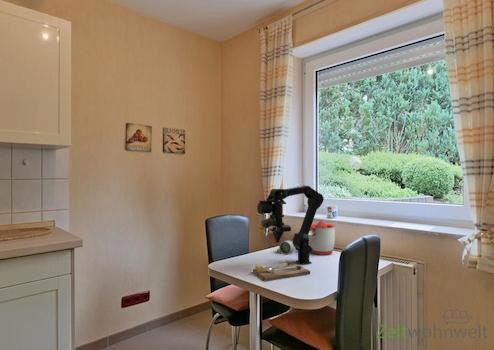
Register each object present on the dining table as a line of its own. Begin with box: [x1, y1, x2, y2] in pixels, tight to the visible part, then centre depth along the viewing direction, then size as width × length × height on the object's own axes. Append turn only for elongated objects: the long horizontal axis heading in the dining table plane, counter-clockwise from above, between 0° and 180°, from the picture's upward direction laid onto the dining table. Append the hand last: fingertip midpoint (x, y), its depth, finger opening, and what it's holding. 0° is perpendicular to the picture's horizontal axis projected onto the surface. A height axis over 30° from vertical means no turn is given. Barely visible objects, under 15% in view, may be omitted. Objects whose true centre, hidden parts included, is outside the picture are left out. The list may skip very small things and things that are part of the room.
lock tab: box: [255, 264, 264, 271], centre depth 150 cm, size 3×2×2 cm
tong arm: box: [266, 260, 290, 273], centre depth 152 cm, size 2×17×2 cm, turn 138°
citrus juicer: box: [308, 220, 336, 256], centre depth 188 cm, size 16×17×20 cm
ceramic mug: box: [276, 239, 295, 255], centre depth 189 cm, size 11×8×8 cm
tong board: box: [252, 262, 311, 282], centre depth 150 cm, size 14×24×3 cm, turn 113°
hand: (277, 242), depth 161 cm, fingers closed
